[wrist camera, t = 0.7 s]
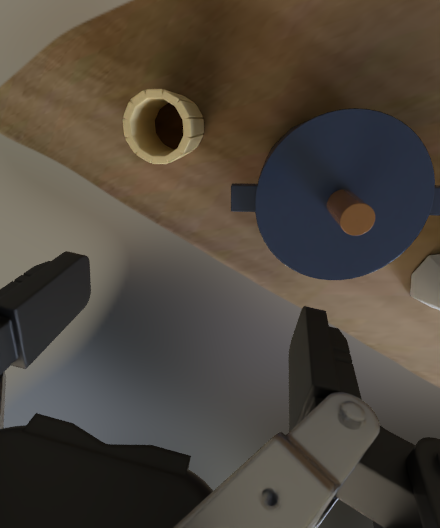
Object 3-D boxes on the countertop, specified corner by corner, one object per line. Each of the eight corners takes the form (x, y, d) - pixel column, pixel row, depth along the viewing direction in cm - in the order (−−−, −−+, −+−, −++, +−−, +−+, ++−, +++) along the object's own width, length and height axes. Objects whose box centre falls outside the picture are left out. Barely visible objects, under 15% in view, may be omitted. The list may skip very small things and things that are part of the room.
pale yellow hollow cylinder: (146, 95, 34) (118, 89, 27) (203, 94, 34) (189, 88, 27) (151, 155, 37) (127, 163, 30) (204, 155, 36) (192, 164, 29)
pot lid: (258, 109, 27) (258, 107, 21) (449, 107, 25) (503, 104, 20) (252, 272, 32) (251, 304, 27) (407, 278, 31) (439, 312, 25)
